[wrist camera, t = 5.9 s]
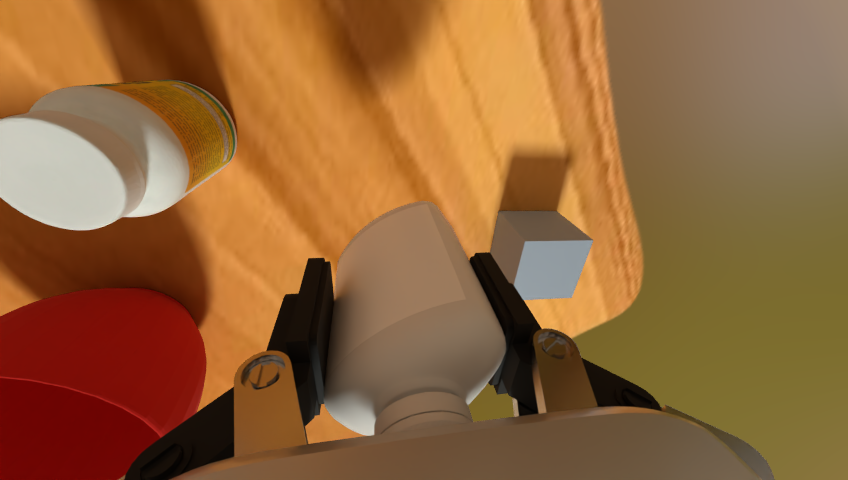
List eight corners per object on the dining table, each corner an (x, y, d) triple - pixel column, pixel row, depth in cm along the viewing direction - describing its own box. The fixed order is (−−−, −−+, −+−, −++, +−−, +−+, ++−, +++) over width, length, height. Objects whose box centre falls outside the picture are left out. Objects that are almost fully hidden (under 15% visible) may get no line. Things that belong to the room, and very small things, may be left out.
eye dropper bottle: (325, 210, 14) (216, 651, 4) (449, 194, 14) (655, 535, 4) (345, 287, 16) (312, 689, 6) (451, 270, 17) (589, 611, 6)
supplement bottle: (202, 188, 21) (90, 273, 12) (116, 119, 18) (-97, 168, 10) (259, 136, 20) (180, 191, 11) (178, 56, 17) (-2, 50, 9)
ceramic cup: (-43, 198, 19) (-392, 314, 10) (255, 284, 25) (195, 403, 16) (-31, 343, 24) (-261, 506, 15) (216, 386, 30) (154, 519, 21)
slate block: (498, 210, 25) (525, 241, 21) (555, 210, 26) (593, 240, 21) (487, 263, 27) (509, 300, 23) (540, 261, 28) (571, 297, 24)
